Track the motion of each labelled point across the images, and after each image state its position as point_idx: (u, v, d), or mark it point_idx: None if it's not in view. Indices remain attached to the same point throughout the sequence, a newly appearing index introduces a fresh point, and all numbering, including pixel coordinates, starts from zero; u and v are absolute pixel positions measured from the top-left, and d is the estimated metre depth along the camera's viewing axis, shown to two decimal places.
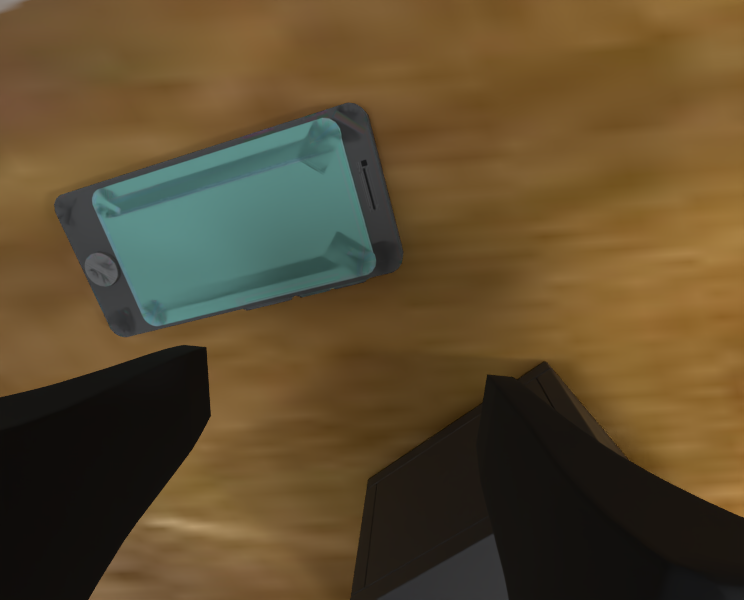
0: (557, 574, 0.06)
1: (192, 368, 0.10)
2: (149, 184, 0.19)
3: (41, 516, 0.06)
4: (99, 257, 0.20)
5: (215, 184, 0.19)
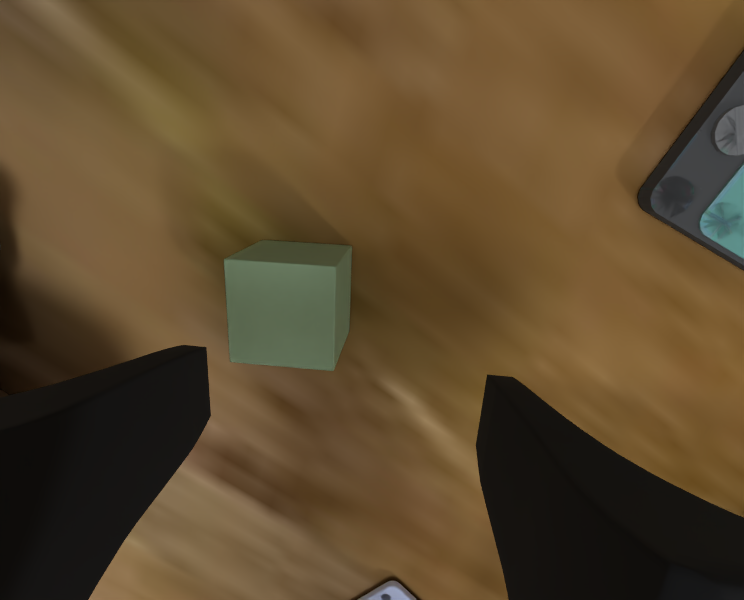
0: (557, 574, 0.06)
1: (192, 368, 0.10)
2: None
3: (41, 516, 0.06)
4: None
5: None
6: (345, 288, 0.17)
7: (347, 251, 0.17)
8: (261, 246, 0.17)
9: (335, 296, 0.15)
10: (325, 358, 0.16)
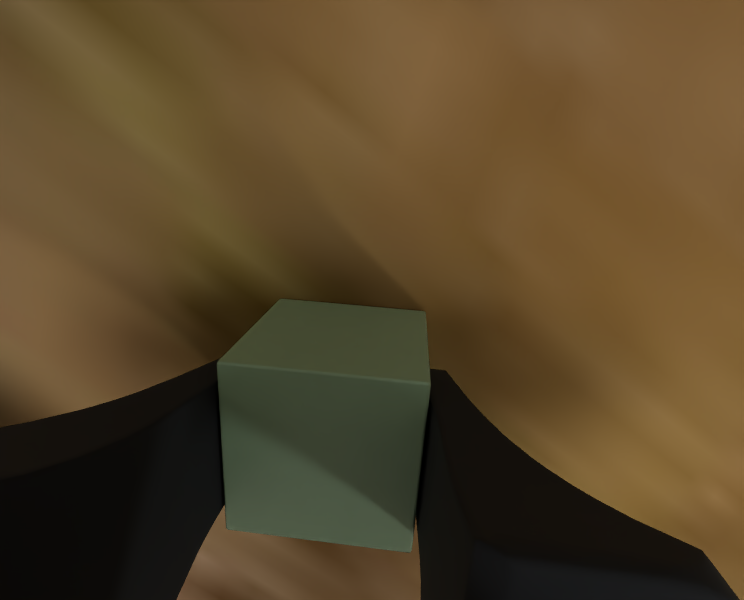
0: (438, 559, 0.06)
1: None
2: None
3: (139, 529, 0.06)
4: None
5: None
6: None
7: (426, 329, 0.10)
8: (281, 318, 0.10)
9: (424, 433, 0.08)
10: (398, 533, 0.09)
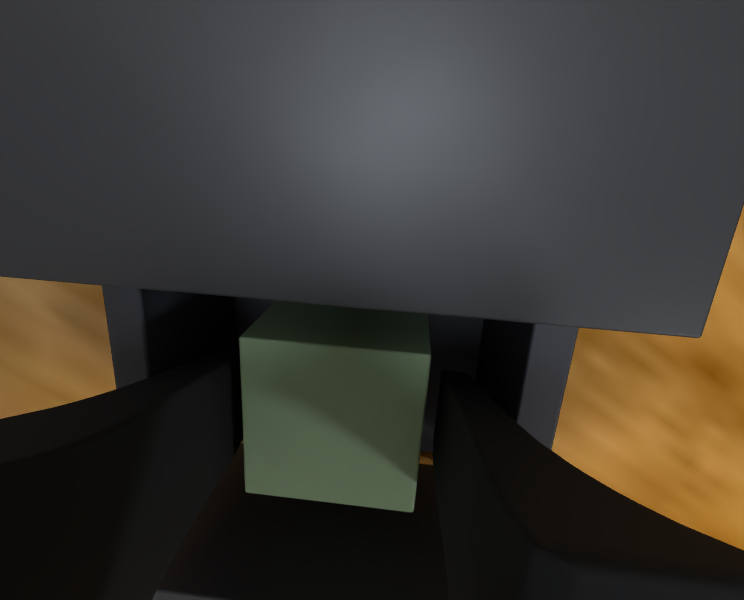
0: (475, 563, 0.06)
1: (237, 373, 0.10)
2: None
3: (111, 525, 0.06)
4: None
5: None
6: None
7: None
8: None
9: (425, 401, 0.09)
10: (401, 494, 0.10)
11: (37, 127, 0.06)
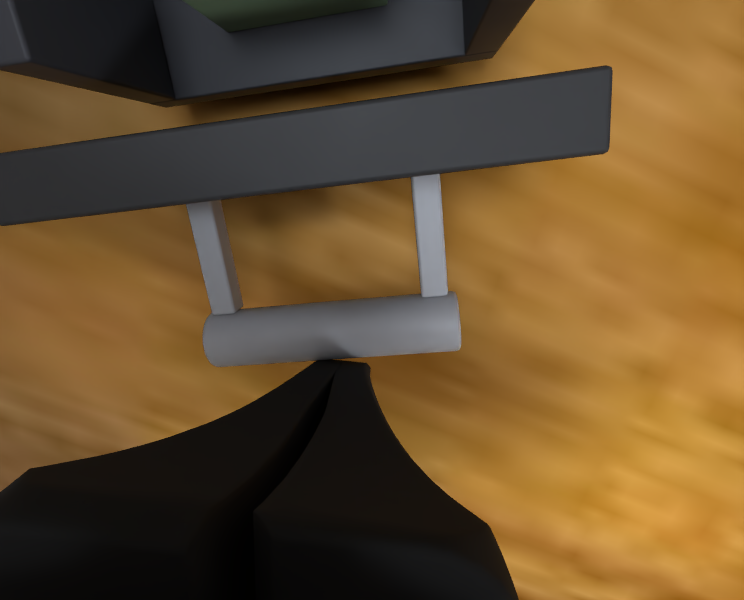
0: None
1: None
2: None
3: None
4: None
5: None
6: None
7: None
8: None
9: None
10: None
11: None
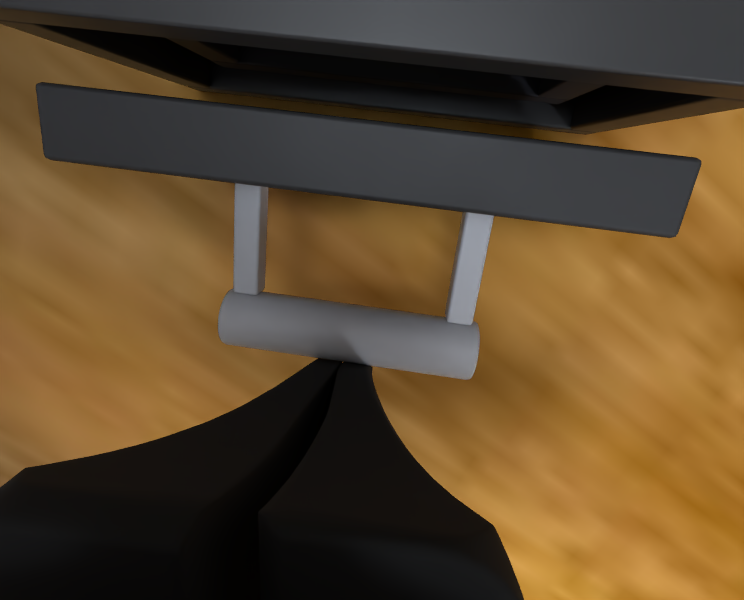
0: None
1: None
2: None
3: None
4: None
5: None
6: None
7: None
8: None
9: None
10: None
11: None
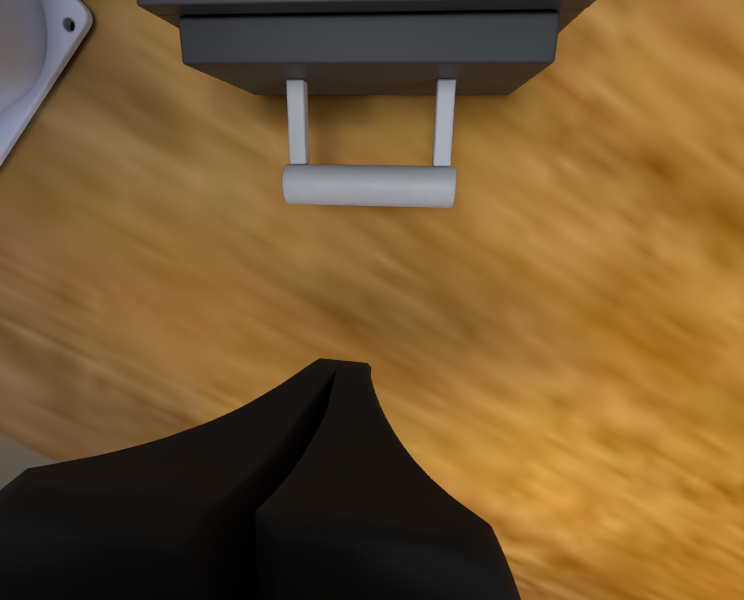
0: None
1: None
2: None
3: None
4: None
5: None
6: None
7: None
8: None
9: None
10: None
11: None
